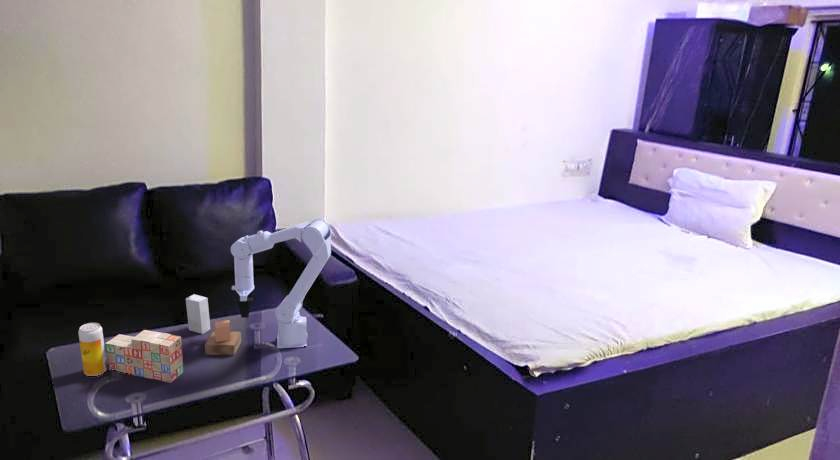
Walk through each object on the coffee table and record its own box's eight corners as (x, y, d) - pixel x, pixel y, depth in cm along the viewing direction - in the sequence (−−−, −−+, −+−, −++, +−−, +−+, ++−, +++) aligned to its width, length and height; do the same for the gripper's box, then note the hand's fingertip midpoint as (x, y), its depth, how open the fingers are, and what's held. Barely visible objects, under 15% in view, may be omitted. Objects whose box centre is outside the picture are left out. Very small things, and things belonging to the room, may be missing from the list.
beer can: (85, 368, 182) (79, 323, 177) (108, 365, 184) (102, 321, 179) (82, 379, 177) (76, 333, 172) (106, 376, 179) (100, 330, 174)
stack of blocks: (107, 370, 182) (103, 333, 178) (122, 360, 188) (118, 324, 184) (171, 383, 177) (168, 345, 173) (184, 372, 183) (181, 335, 179)
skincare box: (211, 329, 209) (209, 297, 205) (201, 335, 205) (199, 302, 201) (197, 325, 211) (194, 293, 207) (187, 330, 207) (185, 298, 203)
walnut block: (241, 342, 202) (240, 331, 201) (234, 356, 194) (233, 345, 193) (213, 341, 202) (213, 331, 201) (205, 355, 193) (204, 344, 192)
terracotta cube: (230, 333, 199) (229, 320, 198) (230, 340, 195) (229, 326, 194) (215, 335, 198) (214, 321, 196) (215, 342, 194) (214, 327, 192)
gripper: (233, 266, 204) (234, 303, 208) (229, 283, 190) (231, 322, 194) (254, 265, 205) (256, 302, 209) (252, 282, 192) (254, 321, 196)
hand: (245, 312), depth 202 cm, fingers open, 7 cm apart
